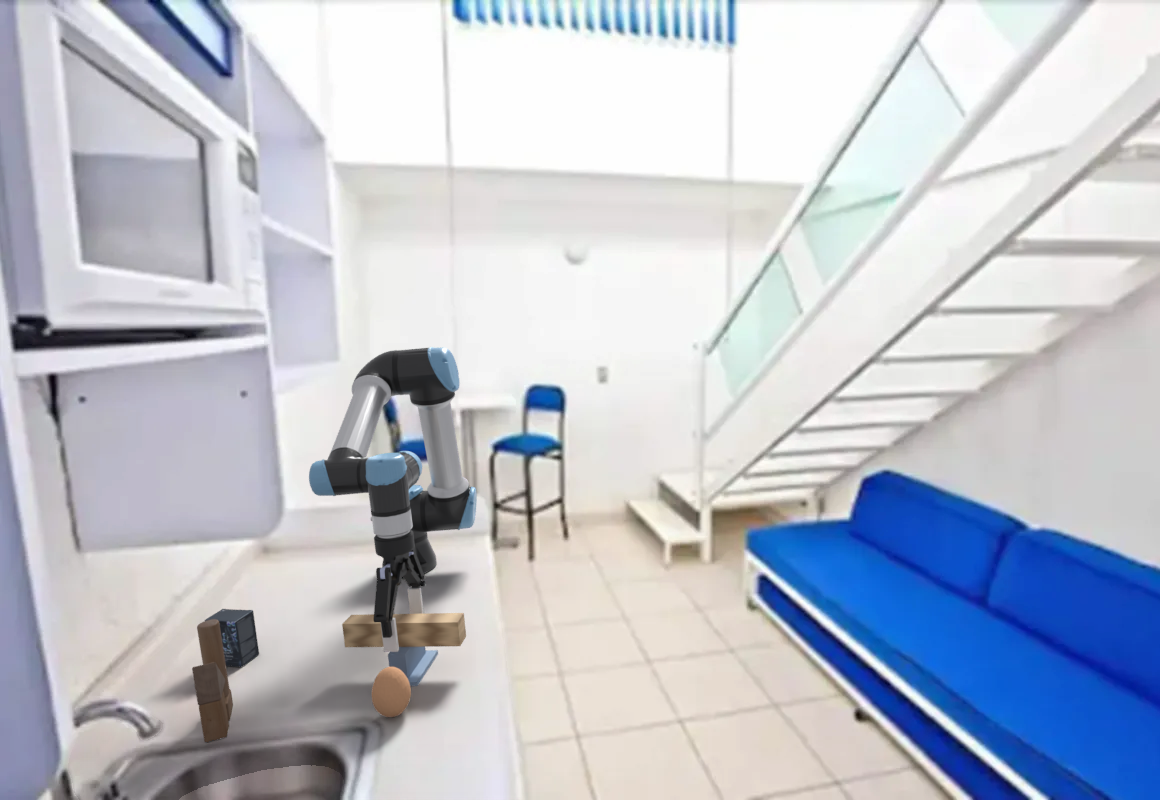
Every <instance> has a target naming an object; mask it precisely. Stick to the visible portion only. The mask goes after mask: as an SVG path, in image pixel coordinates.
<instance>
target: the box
mask: <svg viewBox="0 0 1160 800" xmlns="http://www.w3.org/2000/svg"><path fill="white" fill-rule="evenodd" d="M211 619H217V620H218V621H219V625H220V631H221V637H222V644H223V650H224V657H225V663H226V667H233V668H234V667H235V668H237V667H238V668H243V667H245V666H246V665H248V664H249V663H250V662H251V661H252V660H254V659H255V658H257V657H258V656H259V655H260V648H259V642H258V637H257V636H258V635H257V627H256V621H255V615H254V610H253V609H228V608H222V609H220V610H219V611H217V612H215V613H214V614H211V615H210V616H209V617H207V618H206V619H204V621H207V620H211Z"/></svg>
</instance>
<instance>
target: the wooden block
mask: <svg viewBox="0 0 1160 800" xmlns="http://www.w3.org/2000/svg"><path fill="white" fill-rule="evenodd" d="M196 630H197V636H198V641H199V643H198V644H199V650H200V655H201V661H202V662H201V663H202V664H200V665H197V666H193V667H192V669H191V670H192V676H193V684H194V689H195V695H196V702H197V705H198V711H199V712H198V713H199V717H200V723H201V729H202V734H203V735H202V736H203V741H204V743H205V742H207V743H210V742H209V741H211V742H213V741H212V740H214V741H217V739H218V740H220V738H222V739H225V738H227V737H228V733H229V730H230V723H229V721H231V718H232V714H233V713H232V712H233V707H234V702H233V695H232V689H231V688H230V685H229V684H230V683H229V682H230V681H229V678H228V677H229V676H228V671H227V666H226V663H225V657H224V650H223V644H222V637H221V631H220V625H219V621H218V620H217V619H211V620H207V621H205V620H204V621H201V622H199V624H198V625H197V626H196Z"/></svg>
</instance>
